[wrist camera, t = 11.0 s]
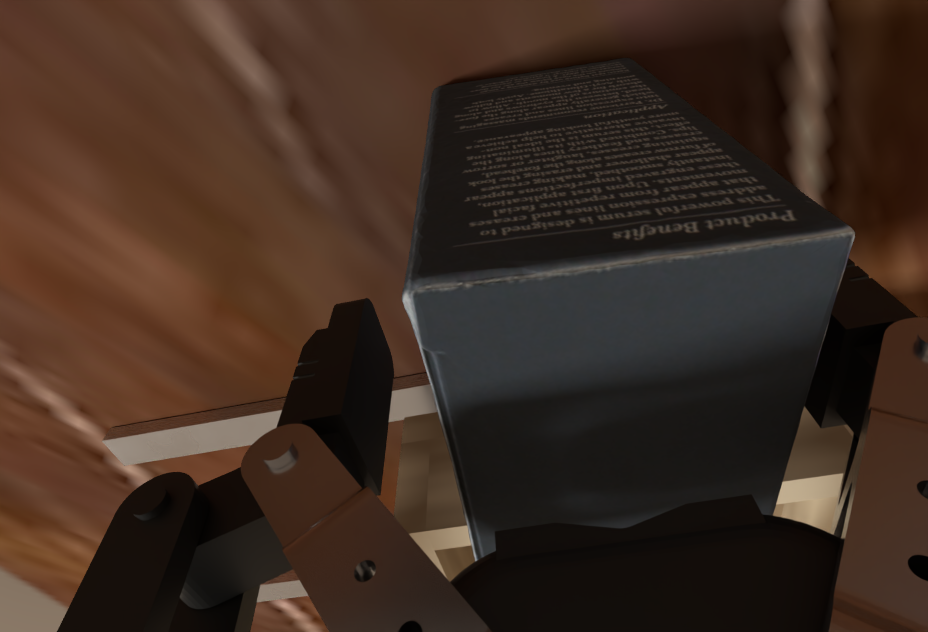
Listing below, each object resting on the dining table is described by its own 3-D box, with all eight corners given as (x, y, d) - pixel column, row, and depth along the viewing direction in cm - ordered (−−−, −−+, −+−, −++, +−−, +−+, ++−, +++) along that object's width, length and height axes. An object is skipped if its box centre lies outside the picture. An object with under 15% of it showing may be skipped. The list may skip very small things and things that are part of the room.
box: (627, 290, 19) (762, 587, 11) (467, 310, 20) (475, 611, 11) (635, 48, 15) (882, 230, 6) (428, 81, 15) (390, 293, 7)
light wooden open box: (798, 320, 19) (918, 463, 14) (760, 543, 27) (828, 684, 22) (407, 387, 21) (391, 536, 16) (481, 579, 29) (486, 716, 24)
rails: (813, 305, 20) (823, 316, 19) (773, 522, 28) (779, 535, 27) (110, 428, 23) (102, 441, 23) (252, 590, 31) (249, 603, 30)
